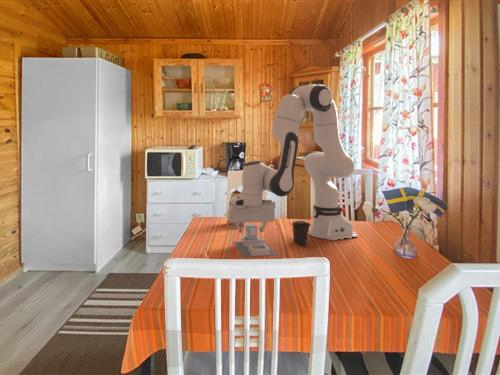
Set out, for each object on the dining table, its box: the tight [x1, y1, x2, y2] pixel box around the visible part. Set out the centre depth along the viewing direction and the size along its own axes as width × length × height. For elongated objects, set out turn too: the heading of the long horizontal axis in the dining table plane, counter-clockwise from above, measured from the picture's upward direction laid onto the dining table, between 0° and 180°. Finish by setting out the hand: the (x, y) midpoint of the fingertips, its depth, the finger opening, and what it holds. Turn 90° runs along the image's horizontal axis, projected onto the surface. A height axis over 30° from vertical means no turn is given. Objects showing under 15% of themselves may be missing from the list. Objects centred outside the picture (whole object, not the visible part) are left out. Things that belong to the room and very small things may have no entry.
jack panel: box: [233, 235, 279, 258], centre depth 165 cm, size 14×20×4 cm
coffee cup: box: [291, 220, 311, 247], centre depth 175 cm, size 8×8×10 cm
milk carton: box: [226, 187, 246, 229], centre depth 203 cm, size 9×9×20 cm
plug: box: [244, 223, 258, 240], centre depth 170 cm, size 4×5×8 cm
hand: (250, 232), depth 170 cm, fingers open, 8 cm apart
